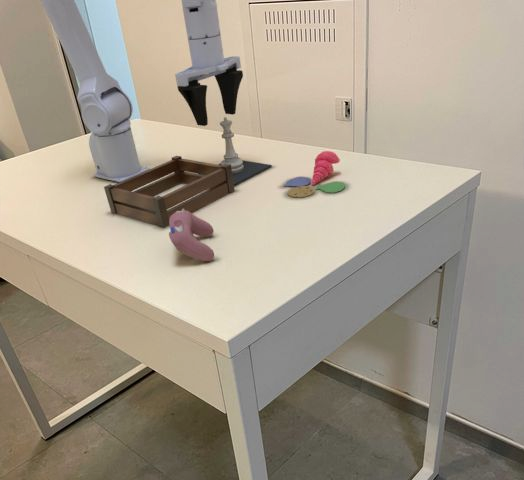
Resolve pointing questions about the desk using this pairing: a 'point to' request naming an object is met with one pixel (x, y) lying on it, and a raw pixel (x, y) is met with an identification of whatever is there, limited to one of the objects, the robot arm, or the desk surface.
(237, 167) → the chess piece
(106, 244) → the desk surface
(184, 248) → the video game controller
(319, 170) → the toy pieces
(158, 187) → the crate
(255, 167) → the mat
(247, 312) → the desk surface
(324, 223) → the desk surface
